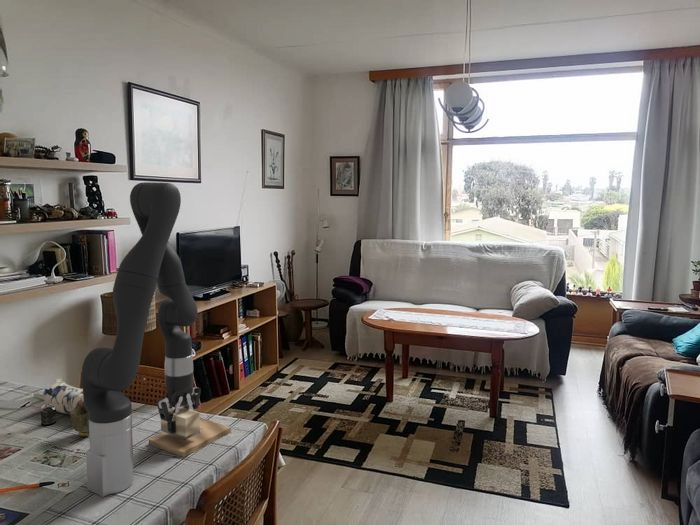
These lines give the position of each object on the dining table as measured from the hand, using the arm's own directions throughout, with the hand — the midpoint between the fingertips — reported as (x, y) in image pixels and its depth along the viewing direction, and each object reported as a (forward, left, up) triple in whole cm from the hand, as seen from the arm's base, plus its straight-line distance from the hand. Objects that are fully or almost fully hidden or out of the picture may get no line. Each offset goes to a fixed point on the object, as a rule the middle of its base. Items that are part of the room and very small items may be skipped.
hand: (180, 428), depth 141 cm
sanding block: (0, 0, -1) cm, 1 cm away
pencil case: (-4, +43, -5) cm, 44 cm away
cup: (-11, +27, -4) cm, 30 cm away
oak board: (+4, 0, -4) cm, 6 cm away
